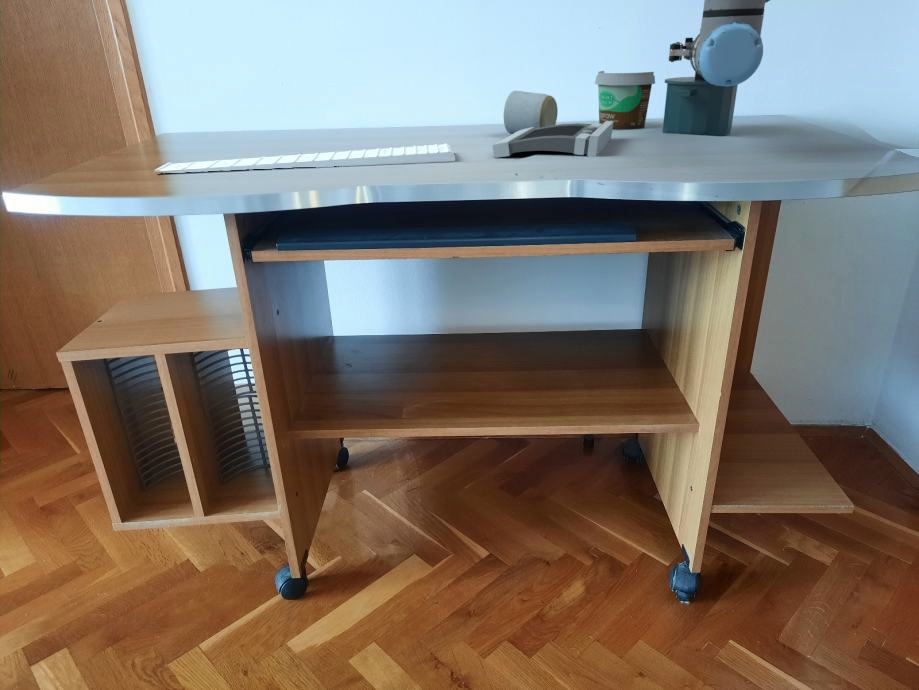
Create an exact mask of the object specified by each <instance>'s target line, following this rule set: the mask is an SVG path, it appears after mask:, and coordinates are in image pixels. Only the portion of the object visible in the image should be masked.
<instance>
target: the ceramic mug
mask: <svg viewBox="0 0 919 690" xmlns="http://www.w3.org/2000/svg"><path fill="white" fill-rule="evenodd" d="M557 120H558V103H557V101H556V99H555V97H554V96H552V95H549V94H546V93H540V92H529V91H523V90H512V91H511V92H510V93H509V94H508V96H507V98H506V100H505V103H504V107H503V124H504V125H503V126H504V128H505V131H506V132H507V133H508V134H510V135H512V134H514V133H515V132H517V131H519V130H522V129H526V128H531V127H534V129H536V128H541V127H546V126H552V125H557Z"/></svg>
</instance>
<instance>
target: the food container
mask: <svg viewBox="0 0 919 690" xmlns="http://www.w3.org/2000/svg"><path fill="white" fill-rule="evenodd" d="M654 73H655V72H654V71H645V72H605V70H600V71H598V72H597V75H596V76H595V79H594V84H595V85H597V89H598V92H597V94H598V123H599V124H603V123H604V122H606V121H613V128H612V130H639V129H644V128H645V126H646V122H647V121H646V120H647V115H648V108H649V103H650V98H651V91H652V86H653V85H655V84H656V77H655V76H656V75H654Z"/></svg>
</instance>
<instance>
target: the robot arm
mask: <svg viewBox="0 0 919 690" xmlns="http://www.w3.org/2000/svg"><path fill="white" fill-rule="evenodd" d="M770 1H771V0H703V11H702V16H701V22H700V29H701V32H700V31H699V33H698V34H697V36H696V37H695V38H694V37H685V39H684V40H685V41H684V44H683V43H682V42H680V41H676V42H673V43H672V44H671V43H670V44H669V51H668V62H670V63H674V62H679V61H682V60H684V59H685V60H687V61H689V62H690V66H691V68H692V69H693V71H694V73H695V72H696V73H697V74H699V75H700V76H702V77H703V78H704V79H705V80H706V81H707V82H709V83H710V84H712V85H714V86H727V87H728V86H734V85H740V84H742V83H744V82H746V81H747V80H749V79H750V78H751V77H752V76H753V75H754V74H755V73H756V72H757V70H758V69H759V66H760V65H761V62H762V60H763V57H764V43H763V38H762V37H761V36H762V29H763V22H764V17H765V5H766V4H767V3H768V2H770Z"/></svg>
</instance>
